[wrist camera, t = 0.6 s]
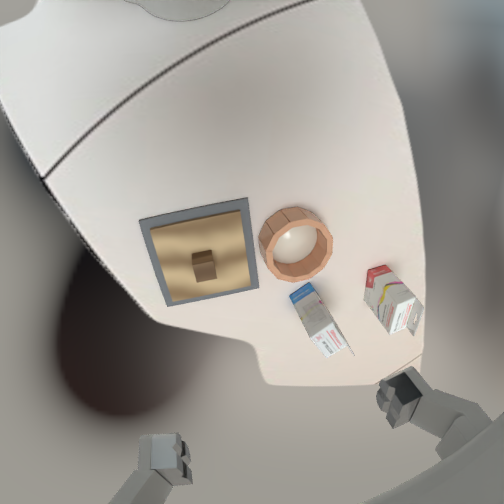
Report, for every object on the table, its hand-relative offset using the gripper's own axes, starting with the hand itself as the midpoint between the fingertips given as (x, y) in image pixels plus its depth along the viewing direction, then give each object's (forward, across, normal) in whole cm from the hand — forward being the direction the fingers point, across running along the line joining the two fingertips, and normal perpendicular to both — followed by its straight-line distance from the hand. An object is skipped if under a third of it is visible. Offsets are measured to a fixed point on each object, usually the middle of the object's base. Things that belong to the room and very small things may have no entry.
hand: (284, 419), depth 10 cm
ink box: (+40, -14, +24) cm, 49 cm away
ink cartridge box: (+40, -30, +24) cm, 56 cm away
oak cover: (+38, +4, +9) cm, 39 cm away
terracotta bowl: (+38, -11, +9) cm, 41 cm away
